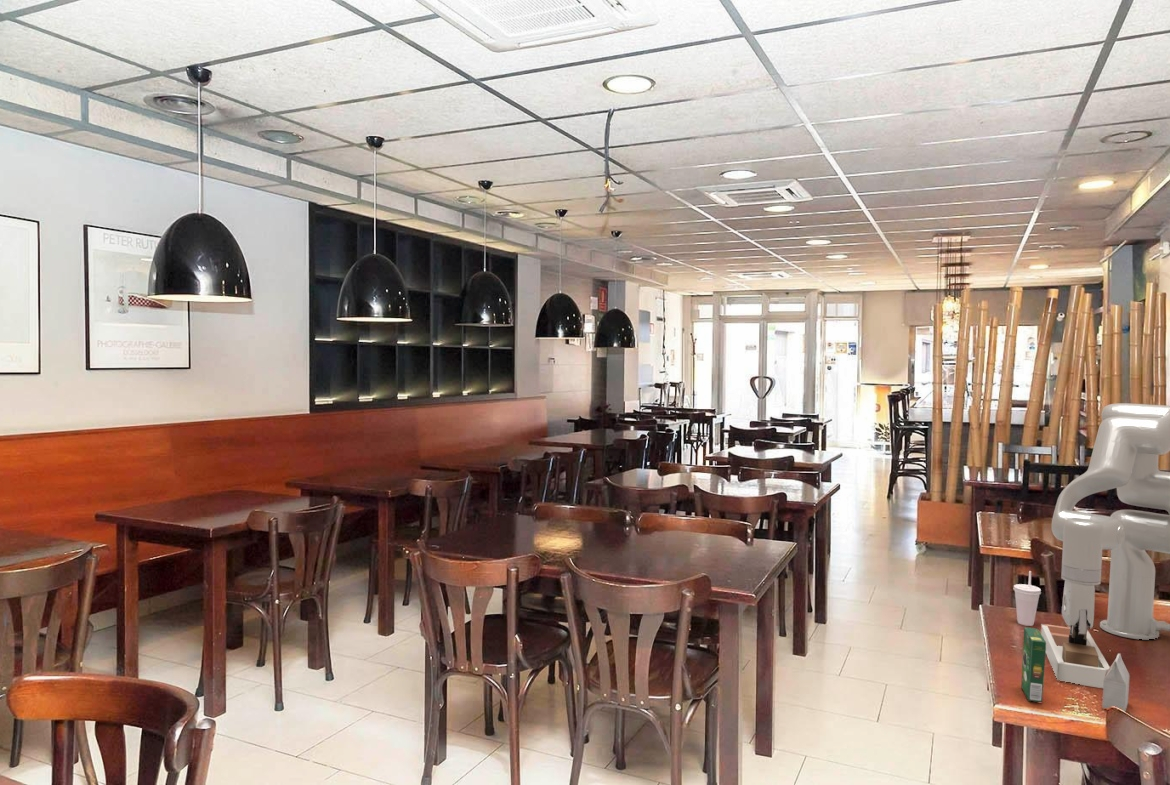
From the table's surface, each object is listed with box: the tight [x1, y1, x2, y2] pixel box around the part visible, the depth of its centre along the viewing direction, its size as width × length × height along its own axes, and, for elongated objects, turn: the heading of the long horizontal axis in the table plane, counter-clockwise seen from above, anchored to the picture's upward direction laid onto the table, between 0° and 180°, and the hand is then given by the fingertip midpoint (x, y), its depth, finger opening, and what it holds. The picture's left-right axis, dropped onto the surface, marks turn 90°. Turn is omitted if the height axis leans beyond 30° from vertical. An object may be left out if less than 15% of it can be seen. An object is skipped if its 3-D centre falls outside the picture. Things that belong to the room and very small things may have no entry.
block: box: [1062, 642, 1099, 667], centre depth 173 cm, size 6×6×4 cm
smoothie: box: [1013, 570, 1042, 627], centre depth 208 cm, size 6×6×14 cm
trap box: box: [1040, 623, 1110, 689], centre depth 182 cm, size 10×28×4 cm, turn 157°
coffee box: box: [1020, 626, 1046, 703], centre depth 163 cm, size 8×3×13 cm, turn 160°
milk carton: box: [1101, 653, 1130, 712], centre depth 159 cm, size 4×7×10 cm, turn 140°
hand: (1076, 654), depth 177 cm, fingers closed
